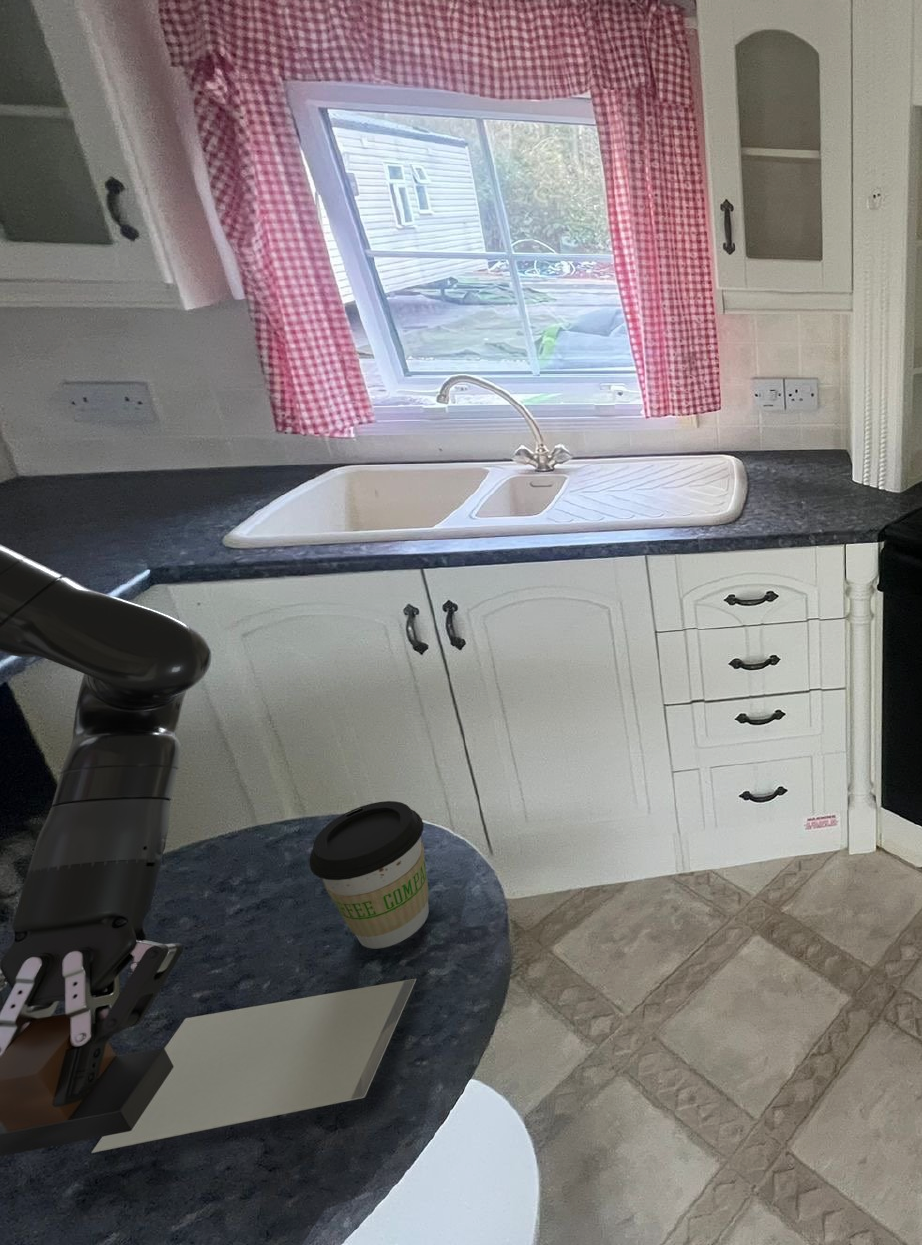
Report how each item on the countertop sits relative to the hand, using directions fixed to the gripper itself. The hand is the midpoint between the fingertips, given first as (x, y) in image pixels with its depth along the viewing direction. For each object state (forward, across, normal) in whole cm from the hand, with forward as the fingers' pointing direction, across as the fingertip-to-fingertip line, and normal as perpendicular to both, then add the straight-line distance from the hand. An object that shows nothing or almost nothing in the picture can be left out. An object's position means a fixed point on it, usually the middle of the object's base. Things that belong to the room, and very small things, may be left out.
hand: (34, 1108), depth 57 cm
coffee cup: (-8, +12, +26) cm, 30 cm away
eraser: (+1, 0, +4) cm, 4 cm away
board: (+2, +8, +16) cm, 18 cm away
